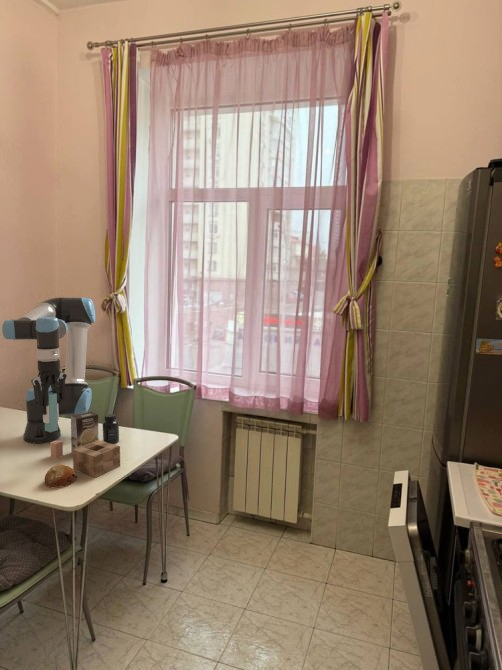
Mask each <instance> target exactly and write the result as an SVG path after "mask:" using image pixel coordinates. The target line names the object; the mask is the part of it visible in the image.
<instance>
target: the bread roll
mask: <svg viewBox="0 0 502 670" xmlns="http://www.w3.org/2000/svg"><path fill="white" fill-rule="evenodd" d="M76 474H77V471H75V470H74V469H73V467H71V466H69V465H65V464H61V463H59V464H56V465H55V464H54V465H53V466H51V467H50V469H49V470H48V471H46V473H45V475H44V485H46V486H47V487H48V486H49V487H48V488H52V487H56V488H61V487H60V486H64V487H67V486H69V484H70V485H72V484H73V483H74V482H75V480H76V479H78V476H76ZM71 483H72V484H71ZM66 485H67V486H66Z"/></svg>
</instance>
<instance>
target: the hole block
mask: <svg viewBox="0 0 502 670" xmlns="http://www.w3.org/2000/svg"><path fill="white" fill-rule="evenodd" d="M72 465H73V466H72V469H74V470H75V472H78V473H80V474H84V475H87V476H90V477H92V478H94V479H95V478H99V477H100V476H102V475H105V474H107V473H109V472H111V471H113V470H115V469H117V468H119V467H121V446H120V445H117V444H111V443H107V442H104V441H103V440H100V439H98V440H97V441H94V442H91V443H89V444H86V445H84V446H81V447H78V448H76V449H73V453H72Z"/></svg>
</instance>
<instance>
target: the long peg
mask: <svg viewBox="0 0 502 670" xmlns="http://www.w3.org/2000/svg"><path fill="white" fill-rule="evenodd" d="M47 406H49V418H50V423H45V431H48V432H53V431H56V430H58V425H59V423H58V421H59V420H58V415H57V394H56V393H52V392H51V393H48V400H47Z"/></svg>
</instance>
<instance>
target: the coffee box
mask: <svg viewBox="0 0 502 670" xmlns="http://www.w3.org/2000/svg"><path fill="white" fill-rule="evenodd" d="M70 432H71V433H70V443H71V444H70V446H71V450H70V451H71V453H72V454H73V449H76V448H78V447H81V446H84V445H86V444H89V443H91V442H94V441H97V440H99V414H98V413H96V412H93V411H92V410H91V411H87V412H85V413H80V414H74V415H70Z"/></svg>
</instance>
